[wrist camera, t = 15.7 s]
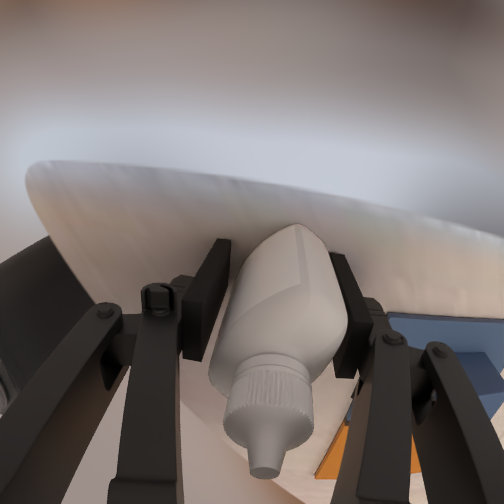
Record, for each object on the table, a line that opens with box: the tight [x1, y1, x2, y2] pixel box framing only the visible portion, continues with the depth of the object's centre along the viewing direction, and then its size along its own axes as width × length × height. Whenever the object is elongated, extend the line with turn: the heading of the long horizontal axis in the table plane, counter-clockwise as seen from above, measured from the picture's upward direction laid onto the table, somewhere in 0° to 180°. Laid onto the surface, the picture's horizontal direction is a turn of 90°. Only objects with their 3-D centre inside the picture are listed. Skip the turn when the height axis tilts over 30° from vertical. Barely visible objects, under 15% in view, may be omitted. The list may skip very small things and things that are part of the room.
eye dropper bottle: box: [208, 224, 348, 479], centre depth 12 cm, size 4×6×12 cm
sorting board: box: [315, 313, 504, 479], centre depth 21 cm, size 13×20×1 cm, turn 174°
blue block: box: [434, 352, 504, 420], centre depth 16 cm, size 4×4×4 cm
